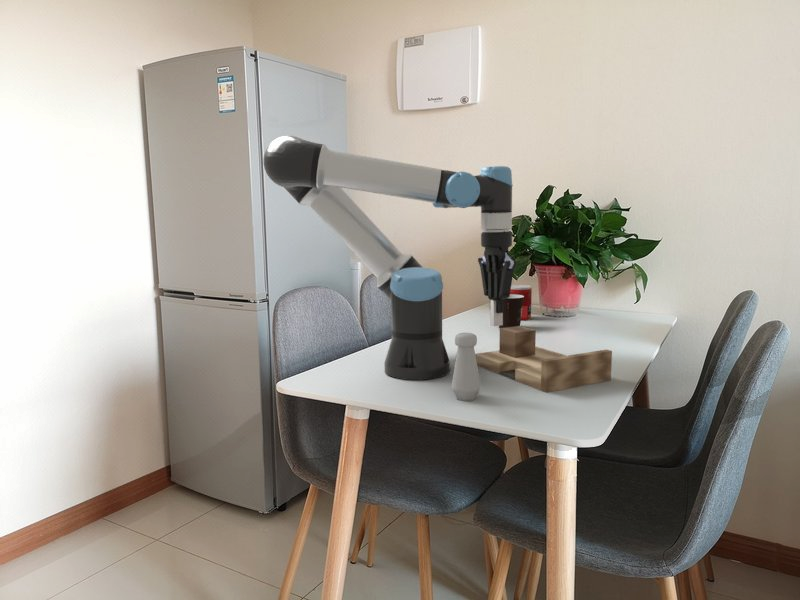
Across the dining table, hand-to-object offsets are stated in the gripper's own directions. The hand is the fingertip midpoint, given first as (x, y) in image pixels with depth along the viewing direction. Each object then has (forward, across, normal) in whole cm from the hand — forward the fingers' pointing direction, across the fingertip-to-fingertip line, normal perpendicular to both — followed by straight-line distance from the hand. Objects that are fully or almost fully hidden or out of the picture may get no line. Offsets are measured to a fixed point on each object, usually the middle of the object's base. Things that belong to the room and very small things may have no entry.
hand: (496, 325), depth 153 cm
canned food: (+8, +39, -38) cm, 55 cm away
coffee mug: (+8, +27, -24) cm, 37 cm away
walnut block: (+6, -9, 0) cm, 10 cm away
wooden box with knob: (+8, -17, 0) cm, 19 cm away
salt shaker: (+8, -25, +25) cm, 36 cm away
